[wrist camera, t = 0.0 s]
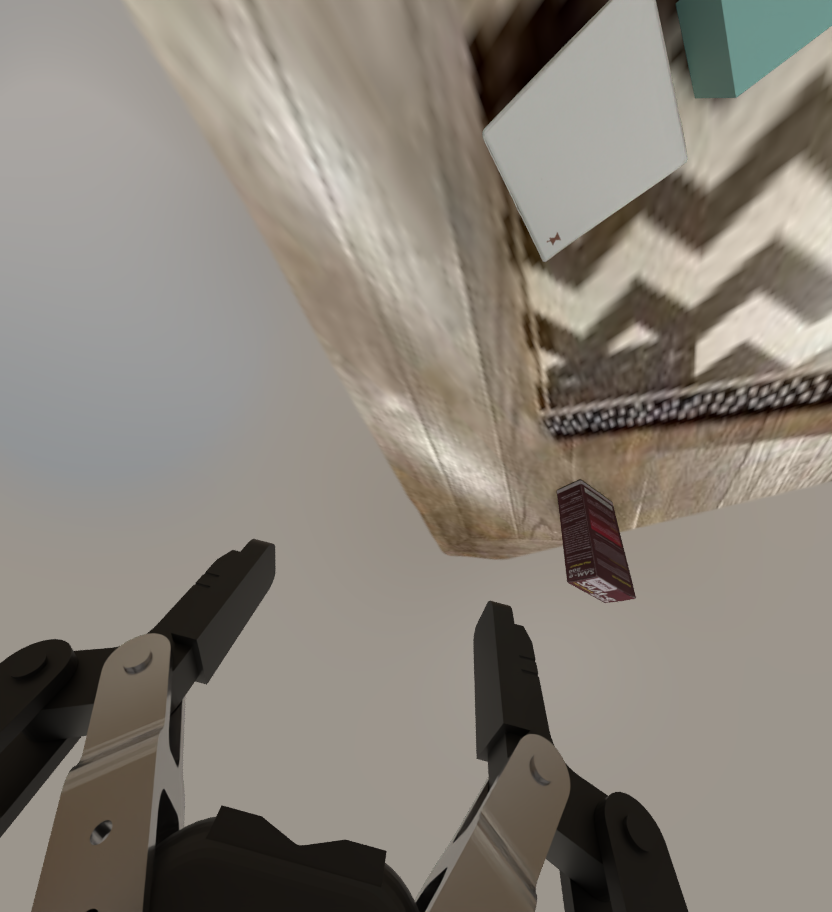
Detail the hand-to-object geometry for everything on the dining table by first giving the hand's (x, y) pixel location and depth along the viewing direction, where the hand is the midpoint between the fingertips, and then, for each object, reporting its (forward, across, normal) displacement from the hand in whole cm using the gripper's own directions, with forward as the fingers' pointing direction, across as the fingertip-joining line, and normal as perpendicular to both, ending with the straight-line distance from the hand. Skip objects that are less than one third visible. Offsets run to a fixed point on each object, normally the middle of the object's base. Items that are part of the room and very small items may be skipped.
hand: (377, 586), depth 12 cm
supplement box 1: (+26, -4, -22) cm, 34 cm away
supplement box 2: (+40, -29, +16) cm, 52 cm away
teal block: (+23, -12, -28) cm, 38 cm away
